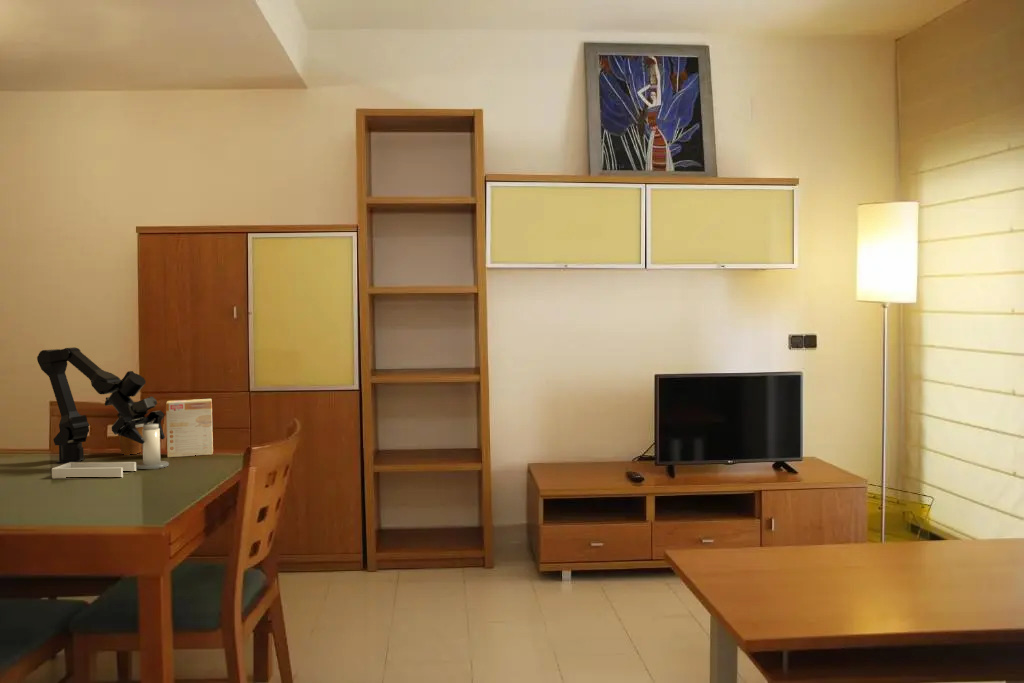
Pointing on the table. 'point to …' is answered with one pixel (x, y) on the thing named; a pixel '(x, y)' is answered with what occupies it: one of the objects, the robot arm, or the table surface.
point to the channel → (93, 469)
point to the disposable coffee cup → (131, 443)
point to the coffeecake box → (189, 427)
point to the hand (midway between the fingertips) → (153, 440)
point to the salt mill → (151, 444)
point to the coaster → (161, 465)
